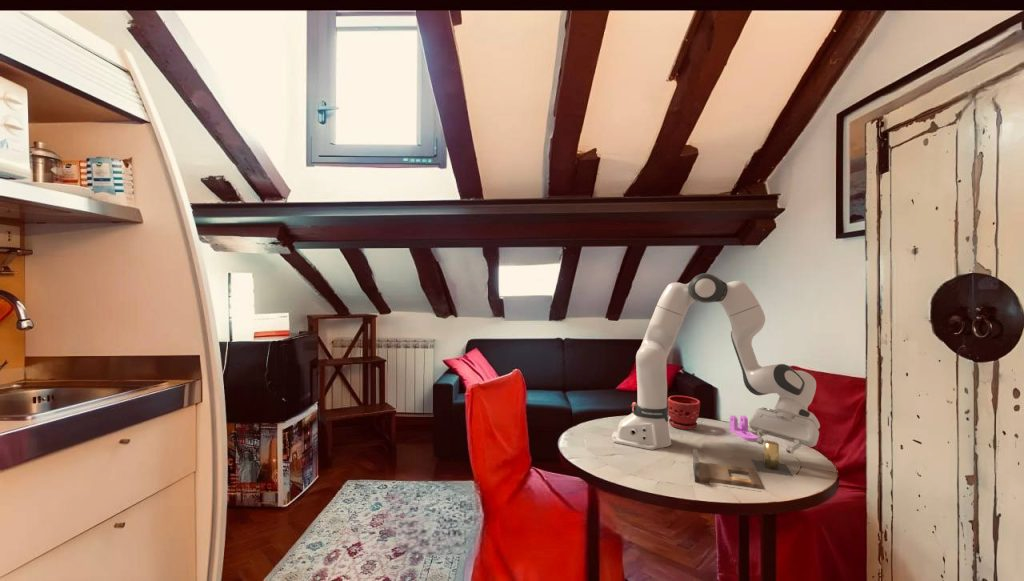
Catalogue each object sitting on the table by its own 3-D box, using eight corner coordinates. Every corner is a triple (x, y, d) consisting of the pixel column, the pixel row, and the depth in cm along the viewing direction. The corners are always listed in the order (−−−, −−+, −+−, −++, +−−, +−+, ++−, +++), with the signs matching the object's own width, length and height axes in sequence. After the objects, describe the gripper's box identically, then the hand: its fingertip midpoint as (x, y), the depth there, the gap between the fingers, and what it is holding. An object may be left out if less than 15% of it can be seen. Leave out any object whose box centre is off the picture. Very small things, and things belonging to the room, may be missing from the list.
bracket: (729, 430, 178) (729, 414, 178) (743, 430, 178) (743, 414, 178) (746, 441, 165) (746, 424, 165) (760, 441, 165) (760, 424, 165)
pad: (757, 474, 136) (757, 471, 136) (751, 462, 145) (751, 459, 145) (793, 479, 132) (793, 476, 132) (785, 466, 142) (785, 463, 142)
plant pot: (665, 428, 181) (665, 400, 181) (669, 420, 192) (669, 394, 192) (698, 433, 175) (698, 404, 175) (701, 424, 186) (701, 397, 186)
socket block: (694, 482, 131) (694, 462, 131) (693, 466, 142) (693, 449, 142) (761, 491, 124) (761, 471, 124) (754, 475, 135) (754, 456, 135)
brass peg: (765, 468, 138) (765, 444, 138) (763, 464, 141) (763, 440, 141) (780, 470, 136) (780, 446, 136) (777, 465, 140) (777, 441, 140)
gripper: (754, 401, 152) (739, 433, 147) (819, 415, 135) (804, 452, 130) (761, 411, 155) (746, 443, 150) (825, 427, 137) (811, 463, 132)
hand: (773, 447), depth 140 cm, fingers open, 8 cm apart
